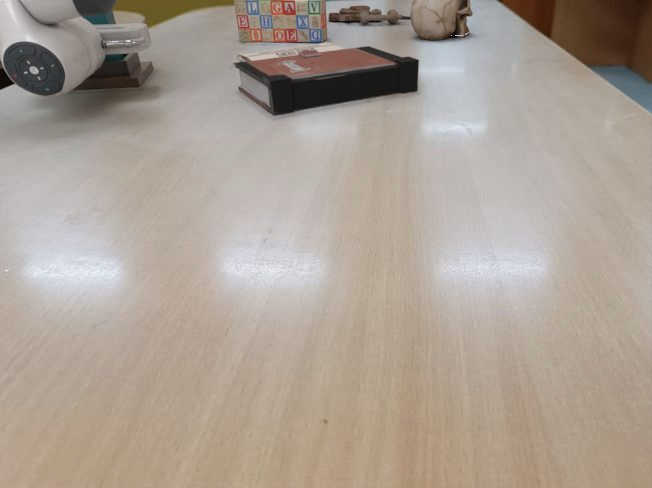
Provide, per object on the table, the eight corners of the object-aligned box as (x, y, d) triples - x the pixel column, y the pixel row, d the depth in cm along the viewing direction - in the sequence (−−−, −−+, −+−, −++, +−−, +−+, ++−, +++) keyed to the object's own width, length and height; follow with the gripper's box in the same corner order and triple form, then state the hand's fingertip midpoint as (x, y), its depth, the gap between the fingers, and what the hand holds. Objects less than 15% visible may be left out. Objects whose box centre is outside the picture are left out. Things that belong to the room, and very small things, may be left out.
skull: (467, 28, 137) (471, -28, 128) (475, 49, 124) (481, -13, 115) (408, 31, 138) (409, -25, 129) (410, 52, 125) (411, -9, 116)
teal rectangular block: (98, 74, 94) (80, 14, 88) (105, 68, 98) (89, 10, 92) (120, 73, 94) (105, 13, 89) (127, 67, 99) (112, 9, 93)
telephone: (443, 24, 143) (444, 7, 141) (325, 25, 145) (325, 9, 142) (438, 19, 156) (439, 3, 154) (330, 20, 158) (330, 4, 155)
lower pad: (69, 90, 91) (61, 66, 88) (91, 71, 102) (85, 50, 100) (139, 86, 92) (133, 63, 90) (153, 68, 104) (148, 47, 101)
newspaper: (320, 49, 118) (320, 37, 117) (351, 63, 111) (351, 51, 109) (229, 61, 107) (228, 49, 105) (256, 79, 100) (255, 66, 98)
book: (366, 70, 100) (366, 42, 97) (417, 90, 87) (418, 59, 85) (237, 89, 90) (233, 59, 87) (273, 115, 77) (270, 81, 74)
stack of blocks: (328, 38, 129) (325, -18, 122) (322, 43, 124) (319, -15, 117) (247, 37, 132) (241, -18, 125) (238, 41, 127) (231, -15, 120)
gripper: (136, 21, 78) (153, 9, 89) (-7, 26, 76) (29, 13, 87) (147, 64, 82) (161, 48, 93) (10, 71, 79) (42, 53, 91)
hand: (96, 31), depth 90 cm, fingers open, 8 cm apart
